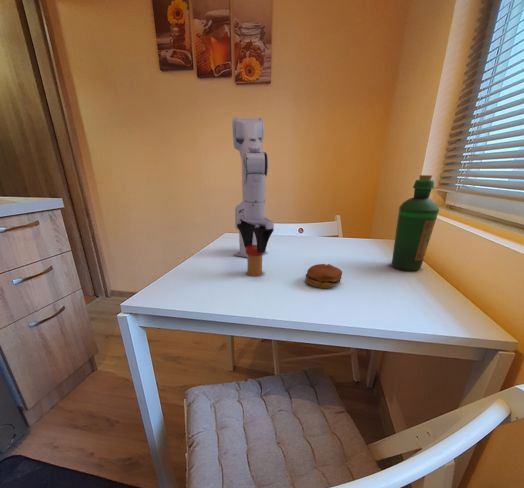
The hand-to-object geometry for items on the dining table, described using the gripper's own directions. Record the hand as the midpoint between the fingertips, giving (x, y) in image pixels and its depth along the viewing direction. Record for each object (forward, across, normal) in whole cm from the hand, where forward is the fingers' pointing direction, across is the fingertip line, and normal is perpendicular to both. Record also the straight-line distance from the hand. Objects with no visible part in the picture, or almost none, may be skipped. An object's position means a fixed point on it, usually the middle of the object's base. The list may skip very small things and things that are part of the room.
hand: (254, 249), depth 81 cm
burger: (+8, -17, -12) cm, 22 cm away
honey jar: (+7, 0, 0) cm, 7 cm away
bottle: (+8, -24, -44) cm, 50 cm away
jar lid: (0, 0, 0) cm, 0 cm away
